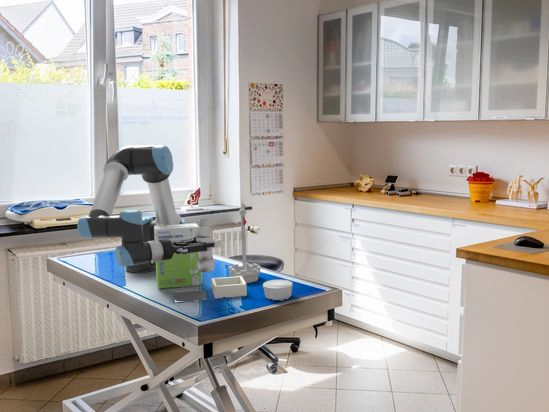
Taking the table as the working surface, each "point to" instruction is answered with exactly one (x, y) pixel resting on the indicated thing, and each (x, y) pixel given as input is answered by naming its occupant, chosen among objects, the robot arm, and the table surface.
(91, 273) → the table surface
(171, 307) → the table surface
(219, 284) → the white square tray
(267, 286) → the ramekin
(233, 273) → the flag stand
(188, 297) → the rubber mat
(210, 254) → the plastic bottle
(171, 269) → the green white carton
